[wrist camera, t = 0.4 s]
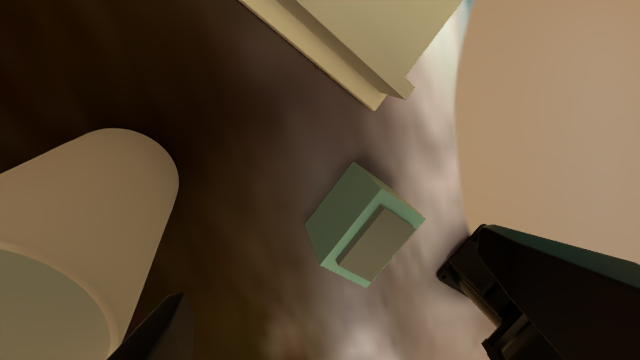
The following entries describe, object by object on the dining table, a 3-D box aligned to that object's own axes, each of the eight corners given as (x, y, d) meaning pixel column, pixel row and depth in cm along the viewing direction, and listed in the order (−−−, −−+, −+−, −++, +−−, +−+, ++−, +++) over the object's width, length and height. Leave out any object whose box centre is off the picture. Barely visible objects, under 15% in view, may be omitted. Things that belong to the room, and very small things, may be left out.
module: (352, 160, 22) (386, 192, 17) (390, 187, 24) (430, 223, 19) (304, 224, 23) (322, 271, 18) (343, 245, 25) (369, 294, 20)
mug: (167, 115, 18) (61, 208, 7) (196, 214, 21) (150, 389, 10) (-35, 141, 16) (-572, 317, 5) (26, 246, 19) (-255, 502, 8)
